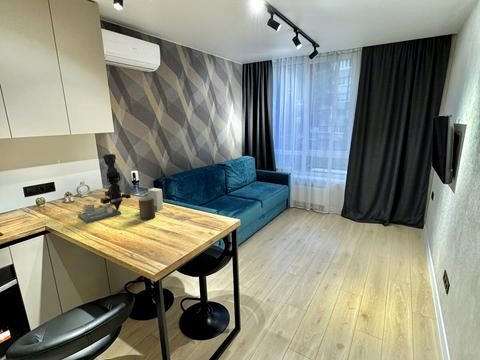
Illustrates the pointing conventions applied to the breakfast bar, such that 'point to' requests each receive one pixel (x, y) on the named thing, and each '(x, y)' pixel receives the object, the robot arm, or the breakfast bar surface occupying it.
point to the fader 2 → (109, 210)
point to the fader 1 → (105, 207)
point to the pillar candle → (146, 208)
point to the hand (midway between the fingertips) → (117, 209)
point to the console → (98, 215)
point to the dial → (89, 208)
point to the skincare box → (156, 198)
